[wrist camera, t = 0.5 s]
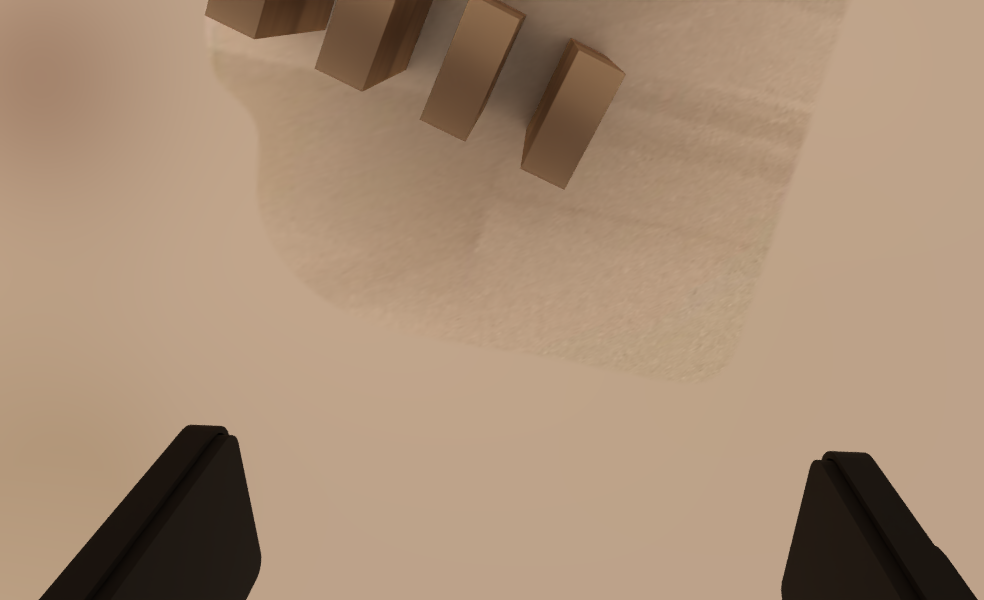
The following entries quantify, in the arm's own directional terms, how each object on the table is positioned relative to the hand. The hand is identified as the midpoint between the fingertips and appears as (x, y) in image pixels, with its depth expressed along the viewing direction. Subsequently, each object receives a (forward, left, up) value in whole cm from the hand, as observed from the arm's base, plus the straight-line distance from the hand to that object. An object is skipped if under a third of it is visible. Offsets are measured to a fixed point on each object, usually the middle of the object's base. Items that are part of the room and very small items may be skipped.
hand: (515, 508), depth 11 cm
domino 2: (-3, -9, -27) cm, 29 cm away
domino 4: (-3, 0, -27) cm, 27 cm away
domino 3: (-3, -5, -27) cm, 28 cm away
